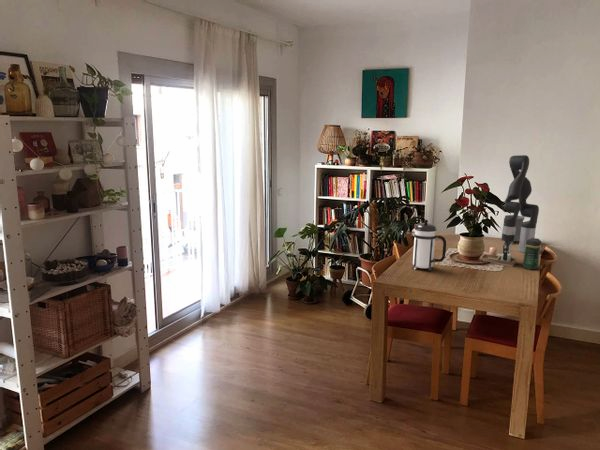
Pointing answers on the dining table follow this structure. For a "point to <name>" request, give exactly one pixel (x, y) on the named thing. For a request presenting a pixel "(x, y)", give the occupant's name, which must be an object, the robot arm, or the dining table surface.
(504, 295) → the dining table surface
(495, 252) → the peach oval shape
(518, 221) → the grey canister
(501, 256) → the sage block
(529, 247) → the coffee jar
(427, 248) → the coffee press
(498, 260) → the walnut tray
